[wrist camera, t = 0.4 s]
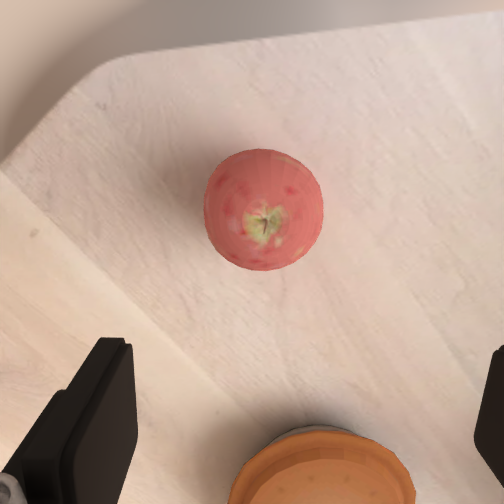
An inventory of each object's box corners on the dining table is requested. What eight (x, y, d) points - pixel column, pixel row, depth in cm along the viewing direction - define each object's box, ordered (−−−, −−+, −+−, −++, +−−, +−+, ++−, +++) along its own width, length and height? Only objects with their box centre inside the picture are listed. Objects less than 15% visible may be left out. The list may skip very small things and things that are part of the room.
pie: (410, 520, 40) (432, 575, 35) (251, 550, 41) (252, 608, 36) (389, 386, 35) (411, 428, 30) (209, 423, 36) (204, 470, 31)
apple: (306, 250, 31) (326, 294, 24) (207, 244, 31) (195, 286, 23) (318, 148, 29) (344, 160, 21) (211, 140, 29) (199, 150, 21)
